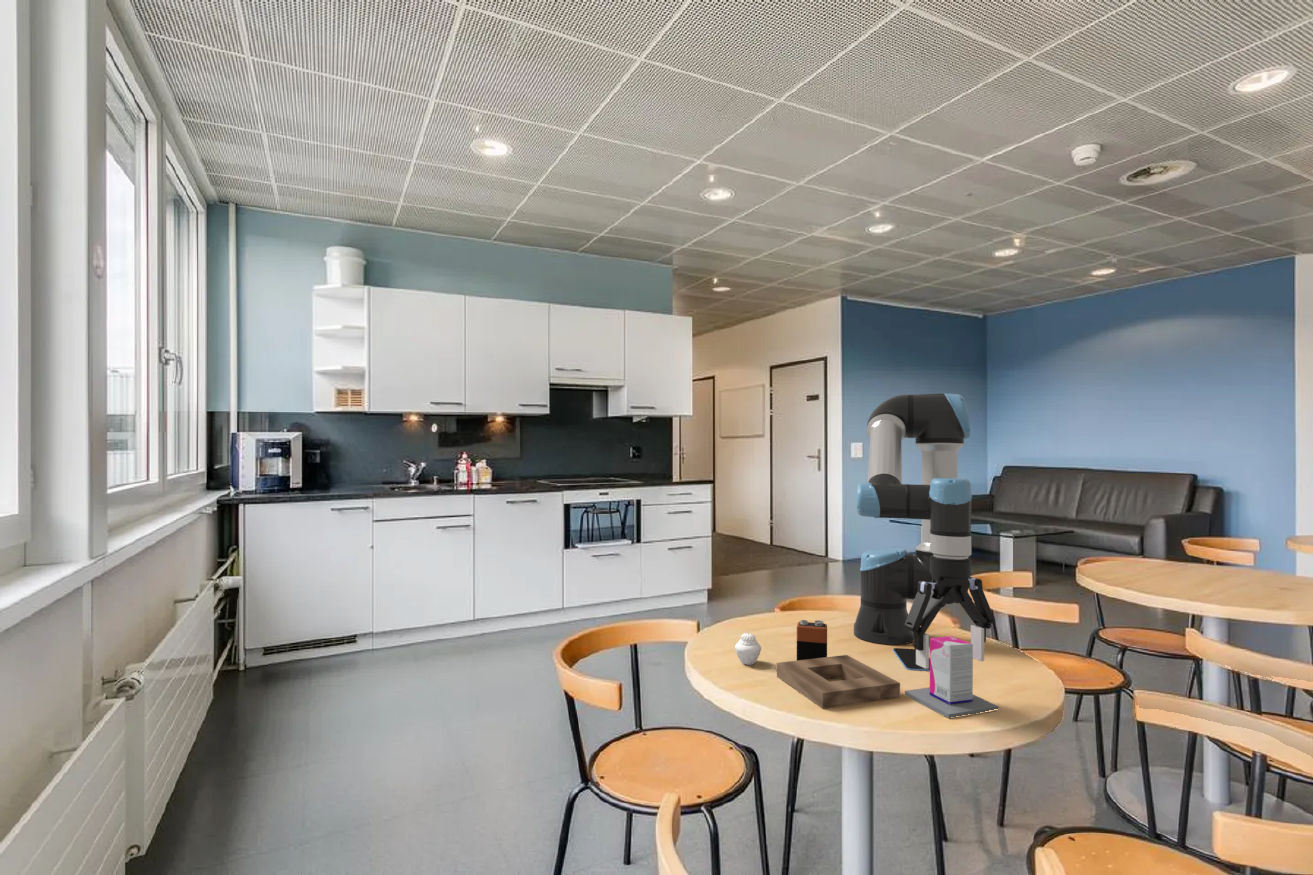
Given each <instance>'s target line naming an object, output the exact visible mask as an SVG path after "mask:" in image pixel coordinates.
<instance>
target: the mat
mask: <svg viewBox="0 0 1313 875" xmlns="http://www.w3.org/2000/svg"><path fill="white" fill-rule="evenodd" d="M904 695H905V696H906V697H908V698H910V699H912V700H913V701H915V702H918V703H919V704H921V705H922V706H925V707H927V708H928V709H930V710H932V711H933V712H936V713H937V714H939V715H941V714H942V715H941V716H943V715H944V716H943V717H945V716H946V717H948V718H949V719H952V718H951V717H956V716H962V715H968V714H974V715H977V714H976V713H980V712H985V711H989V710H994V709H998V708H999V705H996V704H994V703H993V702H991V701H988V700H986V699H984V698H982V697H980V696H978V695H975V694H973V701H972V702H968V703H961V704H955V705H949V704H947V703H945V702H943V701H941V700H939V699H937V698H935V697H933V696H931V695H930V686H929V687H924V688H916V689H908V690H904ZM968 716H969V715H968ZM946 717H945V718H946ZM962 717H963V716H962ZM948 718H947V719H948ZM956 718H957V717H956Z"/></svg>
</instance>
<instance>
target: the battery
mask: <svg viewBox="0 0 1313 875" xmlns="http://www.w3.org/2000/svg"><path fill="white" fill-rule="evenodd" d="M796 624H797V625H796V661H798V660H807V659H815V658H824V657H828V624H827V623H824V620H820V619H816V620H814V622H810V621H809V622H808V620H806V619H801V620H800V621H797V623H796Z"/></svg>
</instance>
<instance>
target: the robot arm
mask: <svg viewBox="0 0 1313 875" xmlns="http://www.w3.org/2000/svg"><path fill="white" fill-rule="evenodd" d="M866 435H867V437H868V439H869V452H868V467H867V468H868V469H867V482H865V483H863V482H861V483H858V485H857V487H856V488H857V489H856V511H857V514H858V515H859V516H861V517H868V518H874V519H906V520H907V519H909V520H921V542H920V543H919V544H918V545H917V546H915V554H908V551H907V549H906V548H904V547H881V548H880V547H879V548H874V549H869V550H866V551H864V552H862V555H861V557H860V558H861V559H860V568H859V571H860V606H859V609H858V612H857V615H856V619H855V622H854V623H853V634H854V636H855V637H856V638H858V639H860V640H863V641H866V642H871V643H874V644H875V643H877V644H881V645H905V644H910V643H912V642H913V644H912V645H913V649H916V664H917V665H919V666H921V667H923V668H925V669H927V668H929V658H930V634H929V633H927V631H928V630H929V628H930V626H931V624H932V623H933V622H934V620H935V618H936V617H937V615H938V613H939V612H940V610H942V608H944V607H945V606H946V605H953V604H954V603H955V604H960V606H961V608H963V610H964V611H965V613H966V614H967V615H968V616H969V619H971V621H972V623H973V624H971V625H970V643H972V644H973V660H977V661H978V662H985V643H986V641H987V629H988V630H989V629H991V627H992V625H993V624H994V623H996V619H995V616H994V614H993V612H992V609H991V607H990V604H989V602H988V600H987V597H986V595H985V592H984V587H983V580H982V579H981V578H977V577H973V576H972V560H971V557H970V556H971V555H972V499H973V494H972V484H971V482H970V480H968V479H967V478H959V477H958V452H959V450H960V449H962V448H963V446H964V444H965V443H964V442H965V440H966V439H969V438H970V437H971V422H970V416H969V409H968V406H967V402H966V399H965V398H964V396H962V394H958V393H945V392H944V393H926V394H925V393H924V394H923V393H922V394H921V393H920V394H900V395H899V394H898V395H895V396H892V397H890V398H888V399H887V400H884V401H883V402H881V403H880V404H878V406H876V407H875V409H874V410H873V411H872V413H871V414H870V416H869V417H868V419H867V423H866ZM904 439H915V446H916V447H917V448H918V449H919V450H920V452H921V484H908V483H903V471H902V470H903V469H902V467H903V465H902V464H903V463H902V462H903V461H902V460H903V459H902V458H903V456H902V451H903V450H902V448H903V447H902V441H903V440H904ZM907 600H913V602H912V604H911V607H910V610H909V611H908V609H907V607H908V606H907V603H908V602H907Z"/></svg>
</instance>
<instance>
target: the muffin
mask: <svg viewBox="0 0 1313 875" xmlns="http://www.w3.org/2000/svg"><path fill="white" fill-rule="evenodd" d="M734 650H735V652H736V655H737V658H738V659H739V662H740V663H741V664H742V663H743V664H742V665H745V664H746V665H745V666H752V665H755V664H756V662H757V661H758V658H759V656H760V655H761V651H762V646H761V644H760V643H759V642H758V640H757V639H756V636H755V634H753V633H748V632H745V633H743V634H741V635H740V639H739V640H738V641H737V642H736V644H735V645H734Z"/></svg>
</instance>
